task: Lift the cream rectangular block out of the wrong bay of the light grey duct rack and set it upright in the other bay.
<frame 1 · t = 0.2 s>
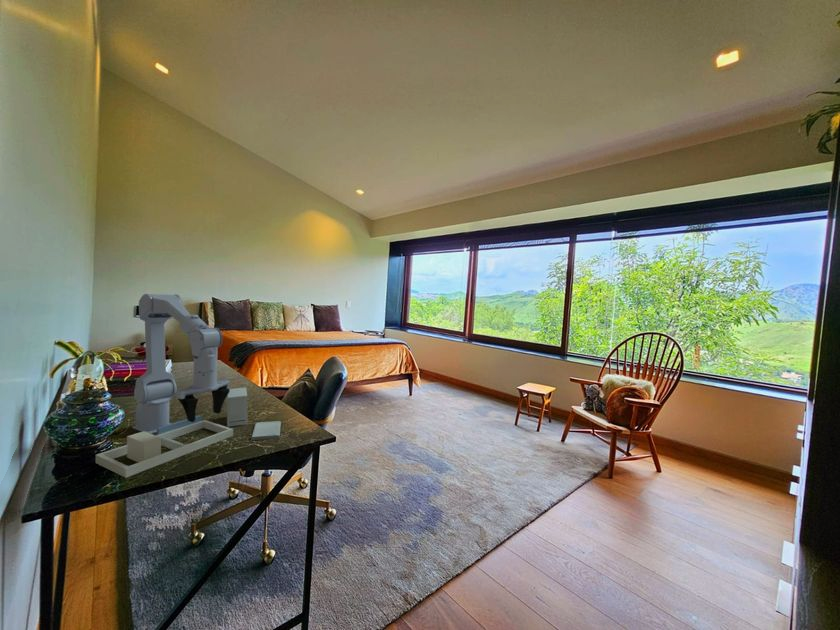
hand: (204, 416, 100), 10 cm above the table, fingers open, 7 cm apart
skincare box: (236, 421, 123), on the table
cream rectangular block: (144, 458, 94), resting in duct rack
hard drive: (266, 433, 116), on the table
duct rack: (171, 447, 100), on the table
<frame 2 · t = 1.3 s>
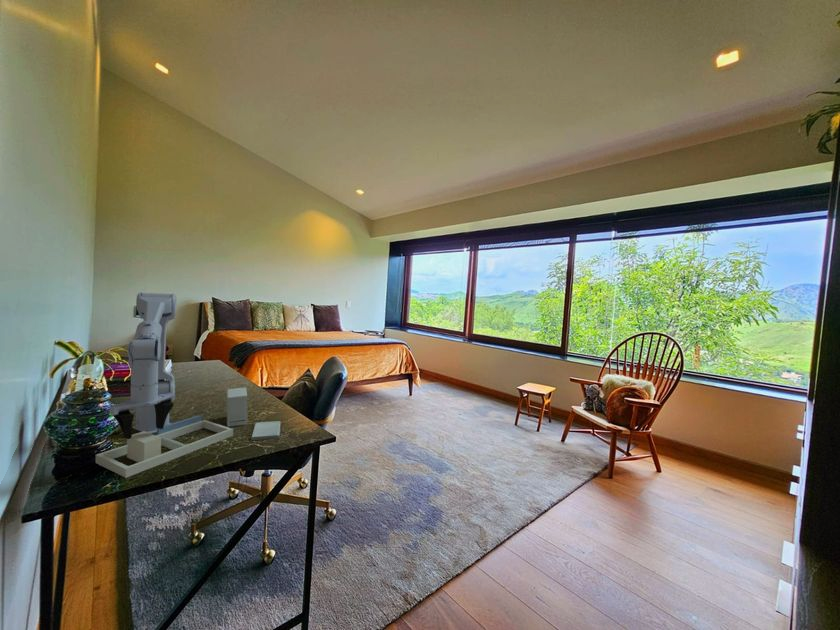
hand: (144, 432, 93), 7 cm above the table, fingers open, 7 cm apart
nothing on the table moved.
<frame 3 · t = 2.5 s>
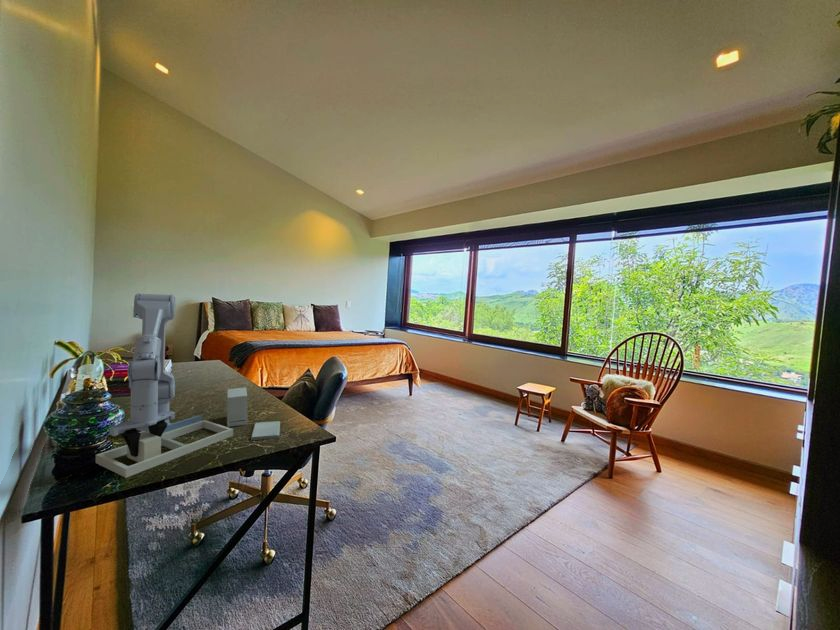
hand: (144, 452, 94), 2 cm above the table, fingers closed on cream rectangular block, 4 cm apart
cream rectangular block: (144, 457, 94), resting in duct rack, touching gripper
everything else where it was.
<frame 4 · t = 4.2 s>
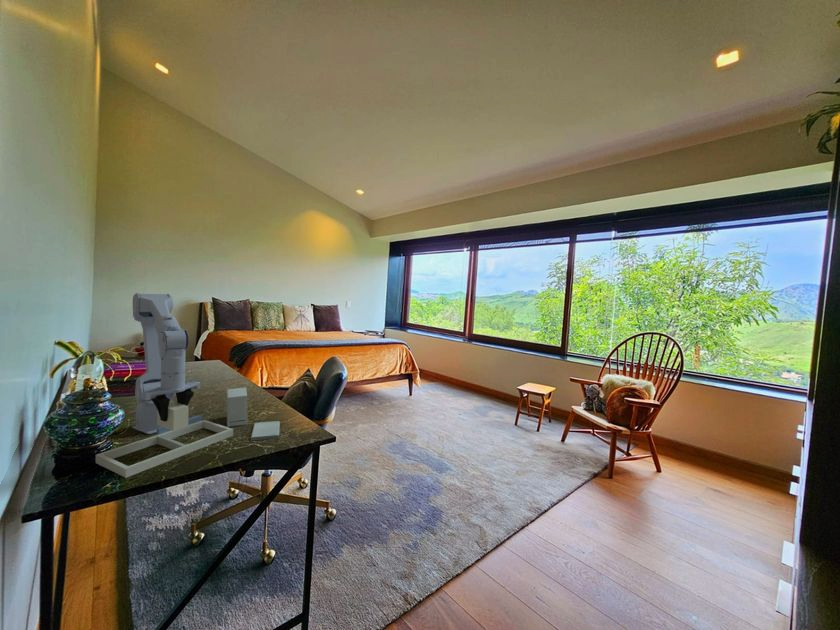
hand: (172, 418, 100), 9 cm above the table, fingers closed on cream rectangular block, 4 cm apart
cream rectangular block: (172, 425, 100), point 7 cm above the table, touching gripper
everything else where it was.
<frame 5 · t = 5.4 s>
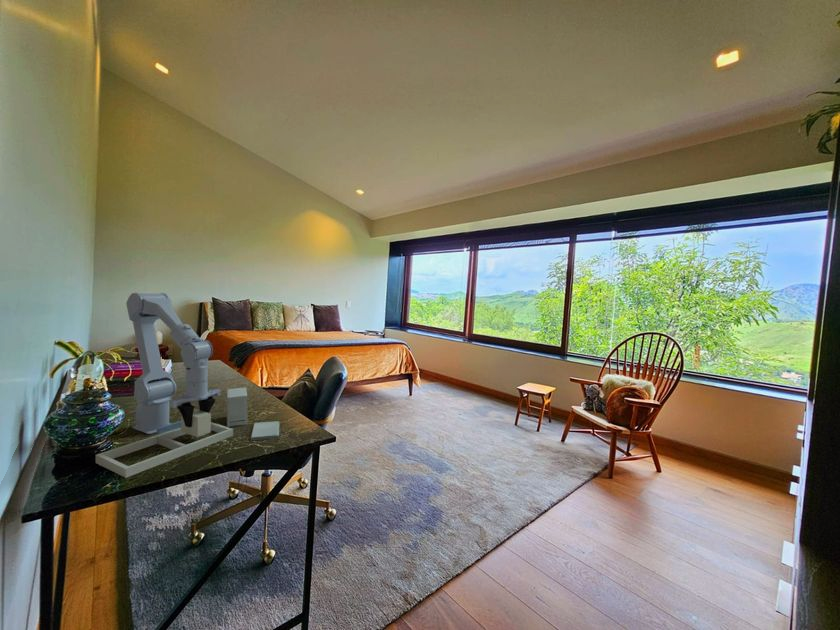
hand: (195, 423, 106), 5 cm above the table, fingers closed on cream rectangular block, 4 cm apart
cream rectangular block: (195, 431, 107), point 2 cm above the table, touching gripper
everything else where it was.
when the fingers open (3 cm above the table, at t = 6.2 s): cream rectangular block stays where it is, resting in duct rack.
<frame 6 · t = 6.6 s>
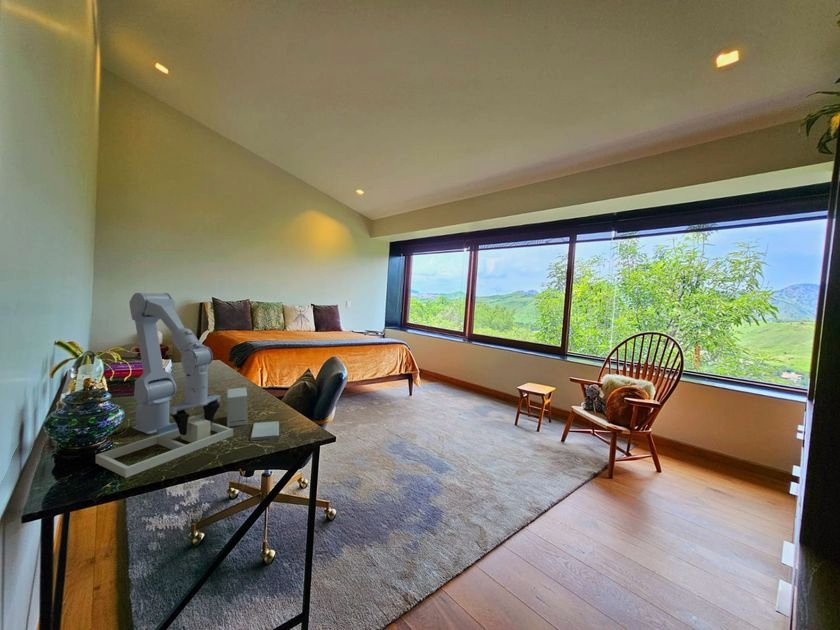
hand: (195, 430, 106), 3 cm above the table, fingers open, 7 cm apart
cream rectangular block: (195, 439, 107), resting in duct rack
everything else where it was.
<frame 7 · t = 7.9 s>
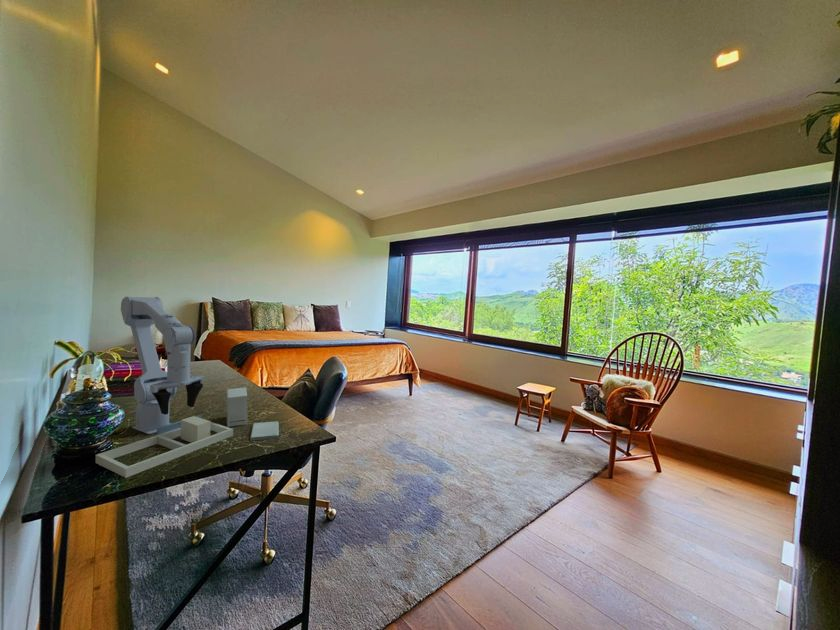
hand: (178, 409, 105), 9 cm above the table, fingers open, 7 cm apart
nothing on the table moved.
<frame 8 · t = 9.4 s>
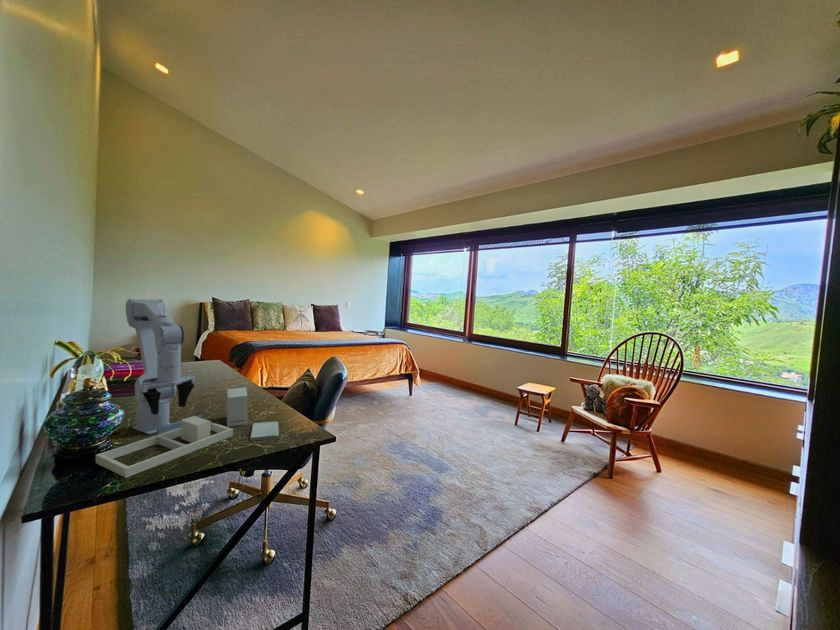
hand: (168, 410, 104), 9 cm above the table, fingers open, 7 cm apart
nothing on the table moved.
at the end: cream rectangular block inside the target area on the duct rack (0.1 cm from its centre), point 0.0 cm above the duct rack's base; cream rectangular block tilted 0°; the gripper is holding nothing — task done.
